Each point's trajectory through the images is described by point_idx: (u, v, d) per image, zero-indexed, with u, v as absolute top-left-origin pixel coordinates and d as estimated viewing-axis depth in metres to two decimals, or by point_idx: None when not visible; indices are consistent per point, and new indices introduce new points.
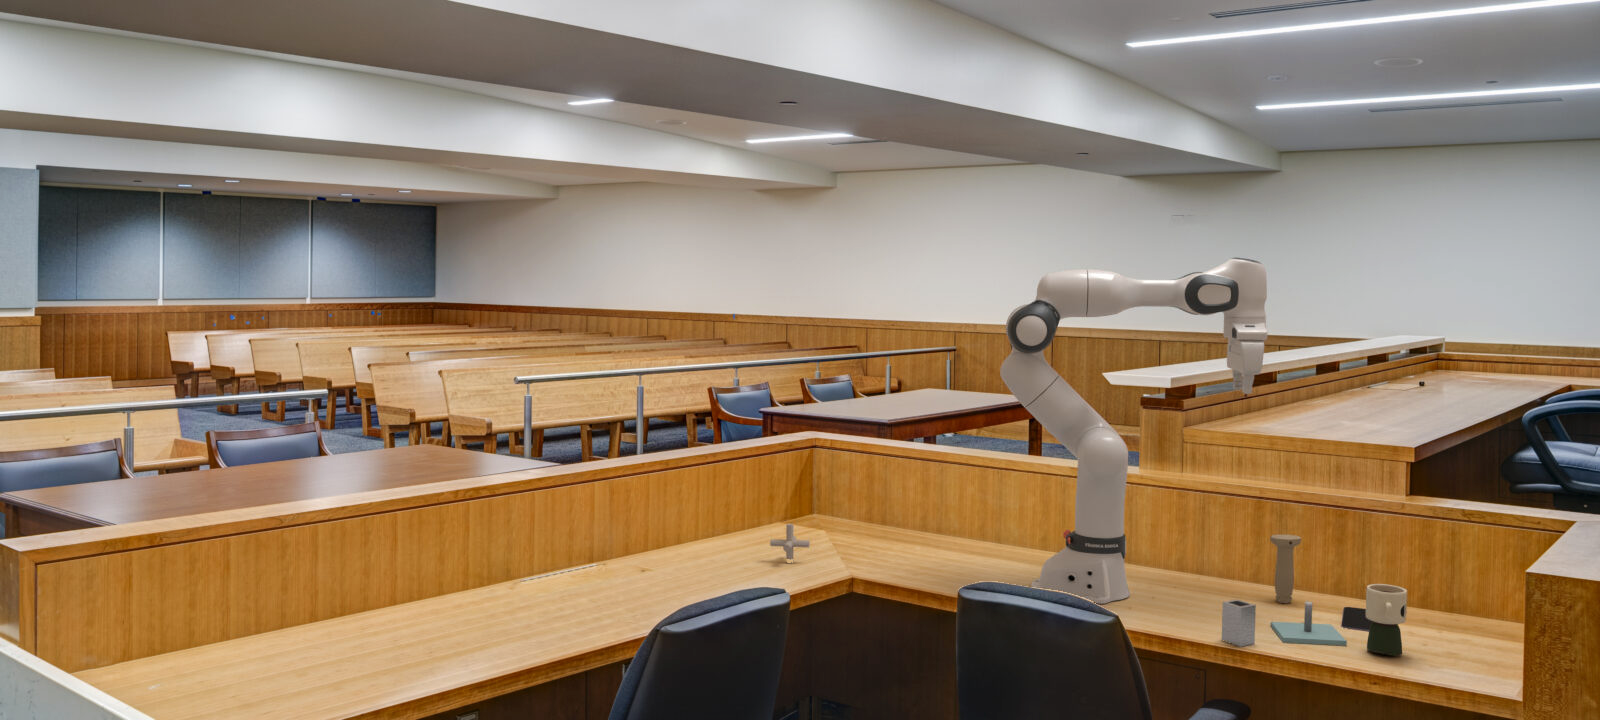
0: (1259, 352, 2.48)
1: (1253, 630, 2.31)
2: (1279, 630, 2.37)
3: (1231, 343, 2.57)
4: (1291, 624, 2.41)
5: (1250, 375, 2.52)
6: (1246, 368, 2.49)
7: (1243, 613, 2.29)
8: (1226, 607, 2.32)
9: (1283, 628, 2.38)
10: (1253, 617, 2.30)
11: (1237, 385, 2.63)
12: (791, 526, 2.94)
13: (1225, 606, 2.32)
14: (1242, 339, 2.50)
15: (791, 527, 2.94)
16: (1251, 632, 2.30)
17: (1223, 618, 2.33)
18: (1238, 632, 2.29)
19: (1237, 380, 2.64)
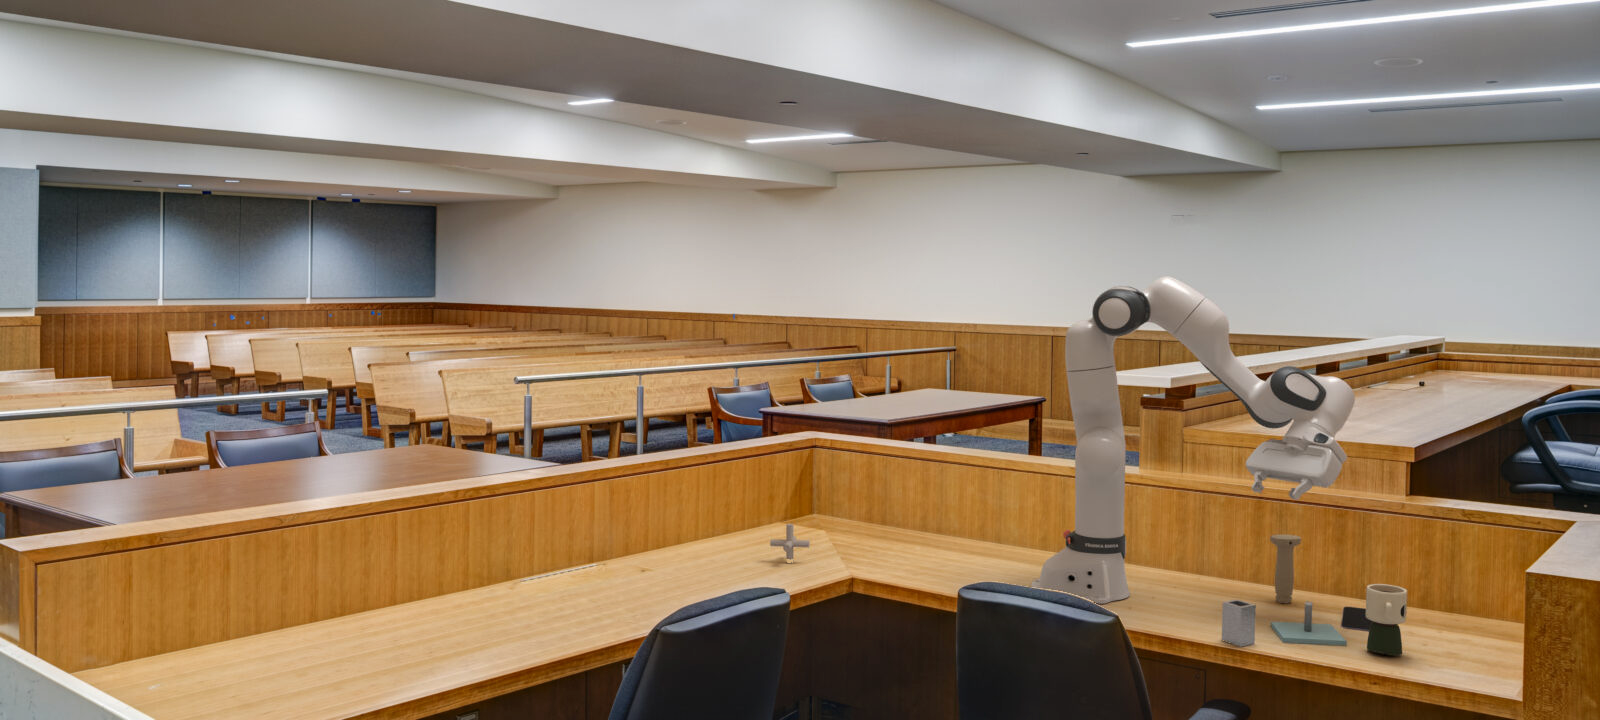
0: (1338, 469, 2.35)
1: (1253, 630, 2.31)
2: (1279, 630, 2.37)
3: (1297, 446, 2.41)
4: (1291, 624, 2.41)
5: (1310, 483, 2.36)
6: (1325, 474, 2.33)
7: (1243, 613, 2.29)
8: (1226, 607, 2.32)
9: (1283, 628, 2.38)
10: (1253, 617, 2.30)
11: (1259, 486, 2.44)
12: (791, 526, 2.94)
13: (1225, 606, 2.32)
14: (1331, 448, 2.36)
15: (791, 527, 2.94)
16: (1251, 632, 2.30)
17: (1223, 618, 2.33)
18: (1238, 632, 2.29)
19: None
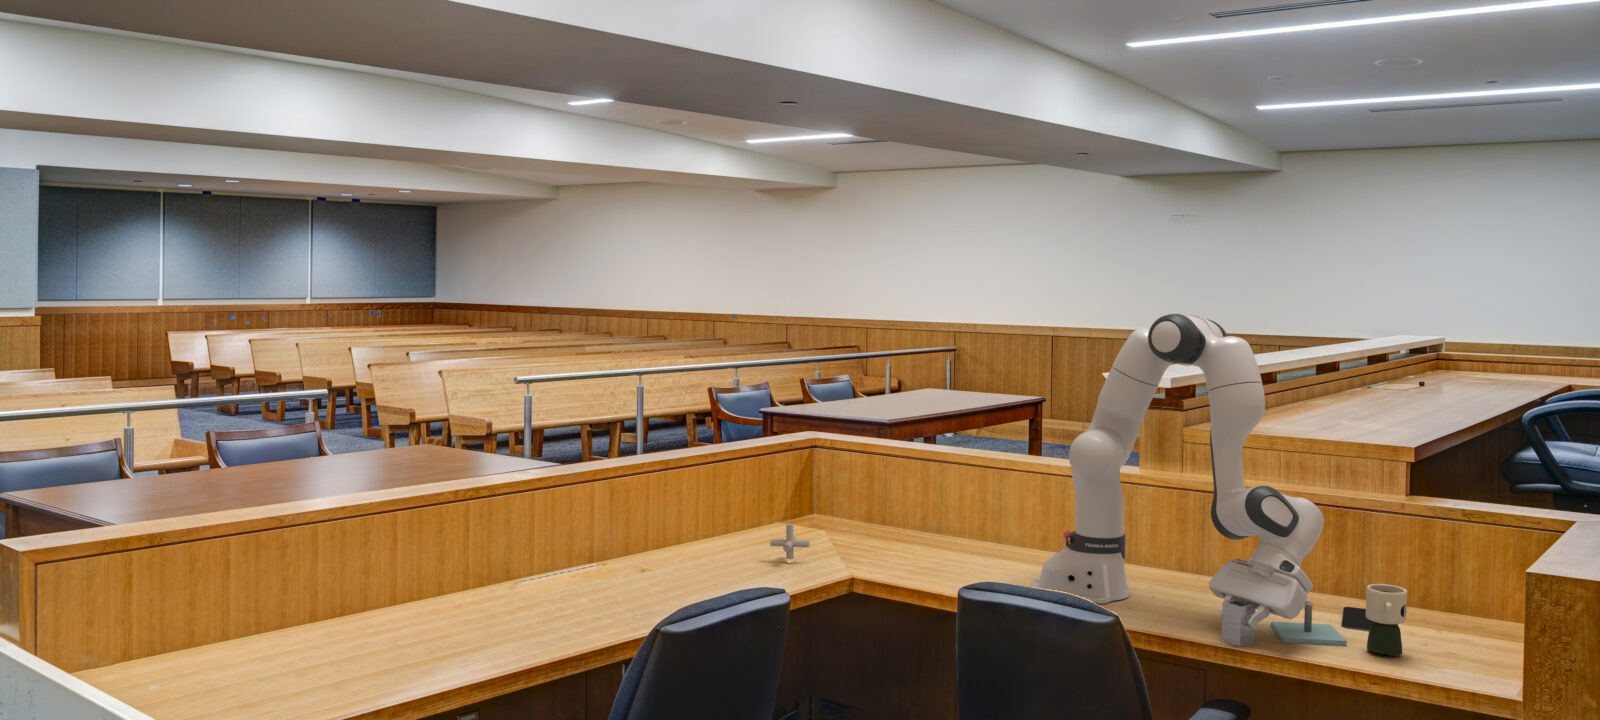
0: (1303, 600, 2.26)
1: (1253, 630, 2.31)
2: (1279, 630, 2.37)
3: (1262, 571, 2.32)
4: (1291, 624, 2.41)
5: (1267, 612, 2.29)
6: (1290, 606, 2.24)
7: (1243, 613, 2.29)
8: (1226, 607, 2.32)
9: (1283, 628, 2.38)
10: None
11: None
12: (791, 526, 2.94)
13: (1225, 606, 2.32)
14: (1297, 577, 2.27)
15: (791, 527, 2.94)
16: (1251, 632, 2.30)
17: (1223, 618, 2.33)
18: (1238, 632, 2.29)
19: None
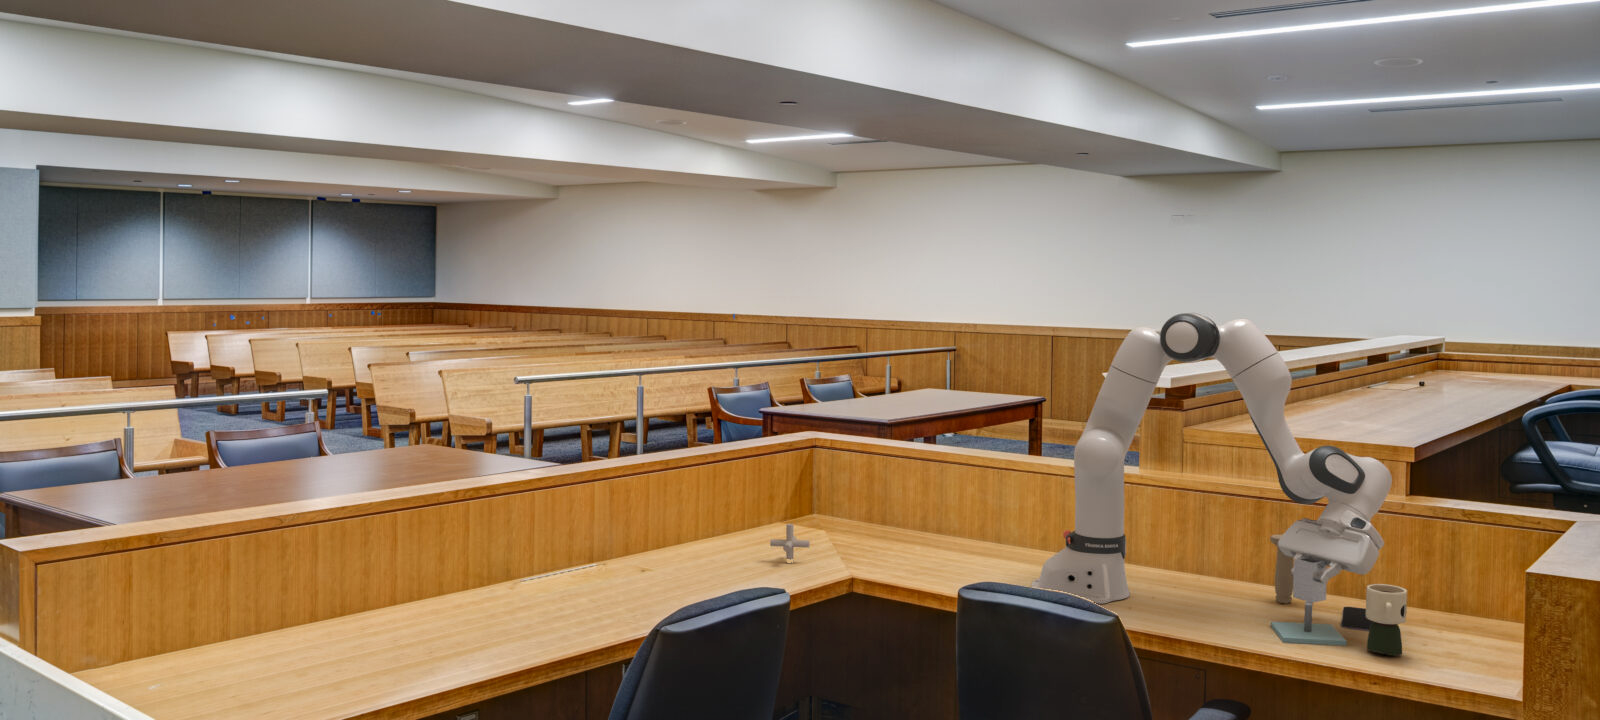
0: (1375, 556, 2.30)
1: (1325, 586, 2.34)
2: (1279, 630, 2.37)
3: (1332, 529, 2.36)
4: (1291, 624, 2.41)
5: (1339, 568, 2.32)
6: (1363, 562, 2.28)
7: (1315, 569, 2.33)
8: (1297, 564, 2.35)
9: (1283, 628, 2.38)
10: None
11: None
12: (791, 526, 2.94)
13: (1296, 563, 2.36)
14: (1369, 534, 2.31)
15: (791, 527, 2.94)
16: (1323, 588, 2.34)
17: (1294, 575, 2.36)
18: (1310, 588, 2.33)
19: None
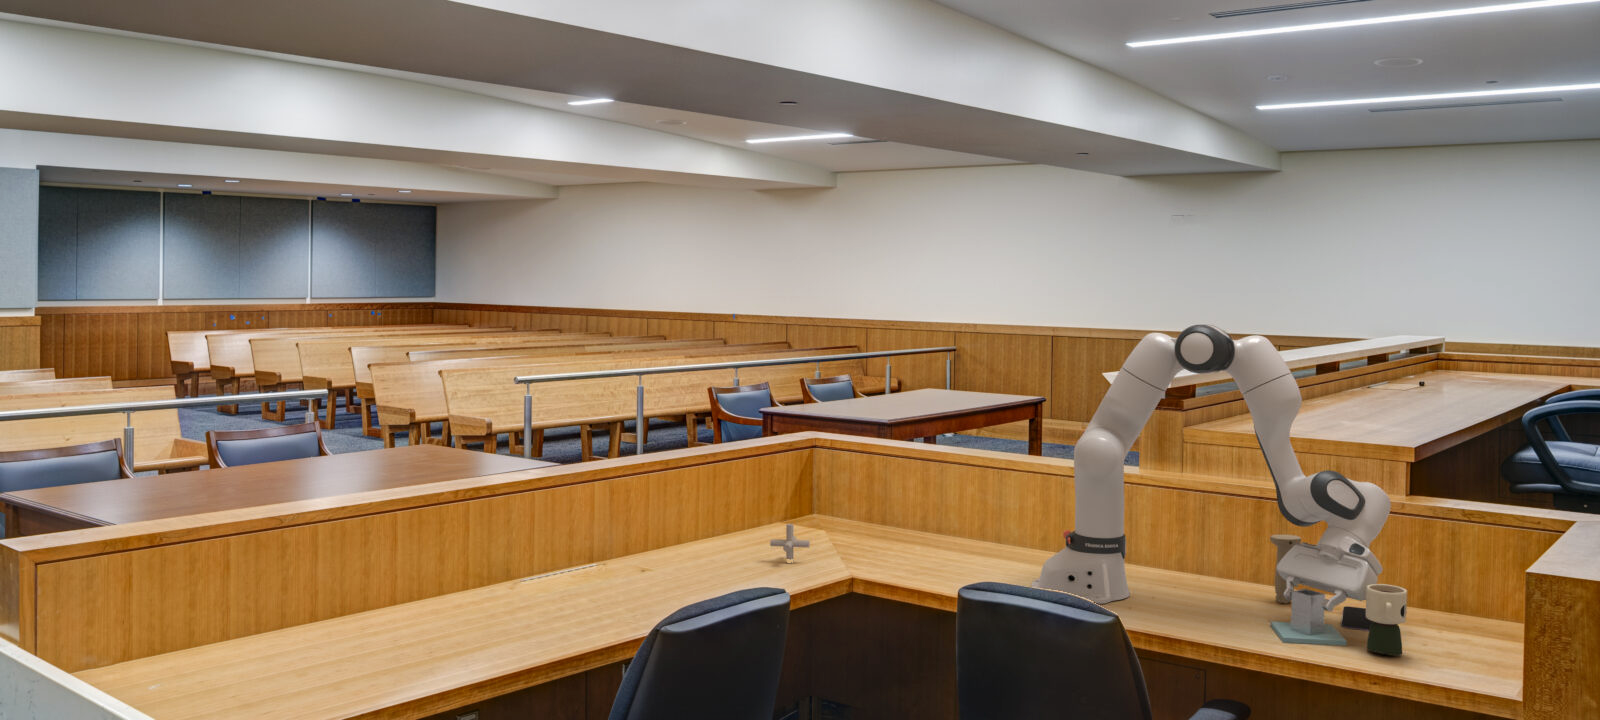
0: (1374, 582, 2.30)
1: (1322, 619, 2.35)
2: (1279, 630, 2.37)
3: (1331, 554, 2.36)
4: None
5: (1344, 595, 2.31)
6: (1361, 588, 2.28)
7: (1313, 602, 2.33)
8: (1295, 596, 2.36)
9: (1283, 628, 2.38)
10: None
11: (1291, 594, 2.39)
12: (791, 526, 2.94)
13: (1294, 595, 2.36)
14: (1367, 560, 2.31)
15: (791, 527, 2.94)
16: (1320, 621, 2.35)
17: (1292, 607, 2.37)
18: (1308, 621, 2.34)
19: (1291, 589, 2.40)
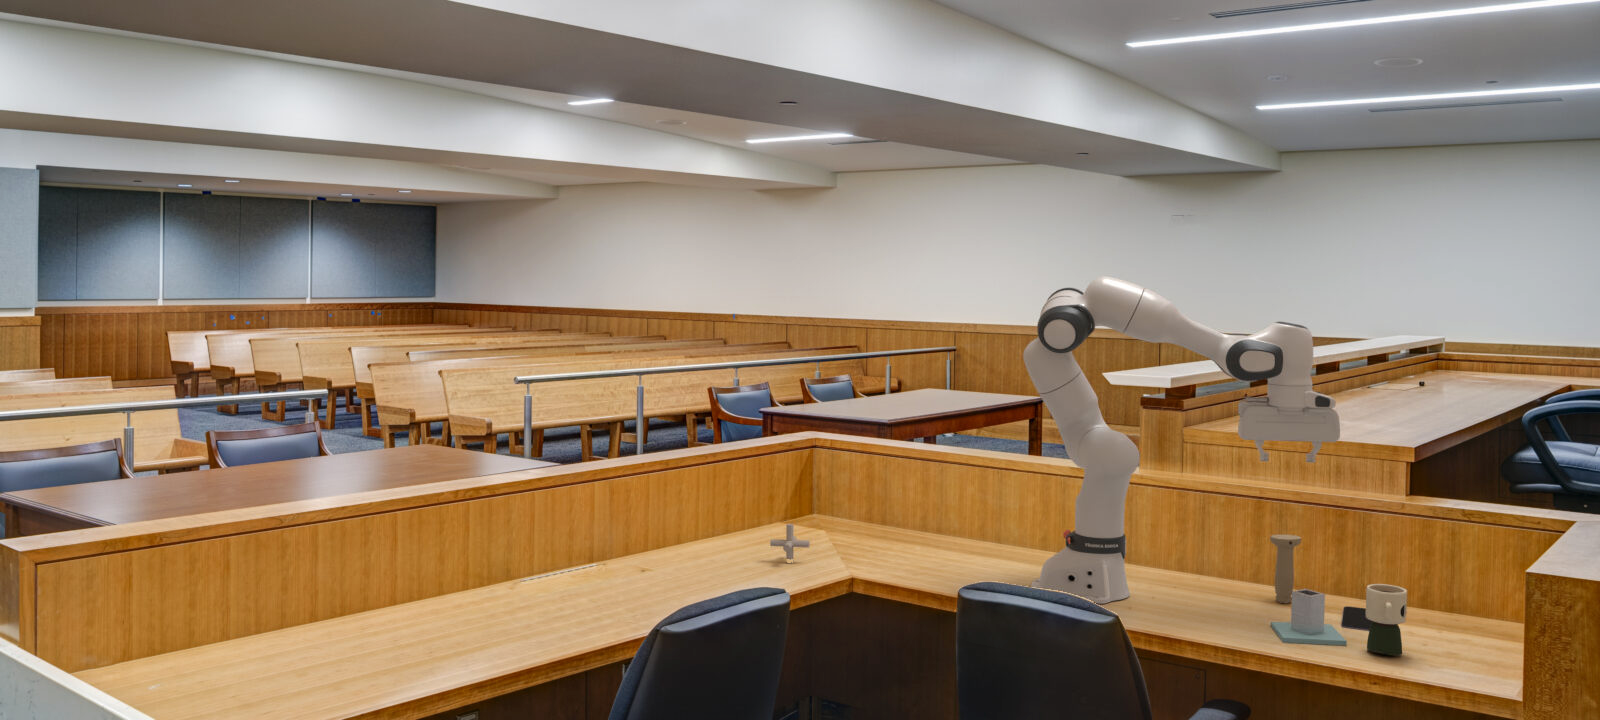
0: None
1: (1322, 619, 2.35)
2: (1279, 630, 2.37)
3: (1298, 412, 2.43)
4: None
5: None
6: None
7: (1313, 602, 2.33)
8: (1295, 596, 2.36)
9: (1283, 628, 2.38)
10: (1322, 606, 2.35)
11: None
12: (791, 526, 2.94)
13: (1294, 595, 2.36)
14: None
15: (791, 527, 2.94)
16: (1320, 621, 2.35)
17: (1292, 607, 2.37)
18: (1308, 621, 2.34)
19: (1263, 451, 2.47)
